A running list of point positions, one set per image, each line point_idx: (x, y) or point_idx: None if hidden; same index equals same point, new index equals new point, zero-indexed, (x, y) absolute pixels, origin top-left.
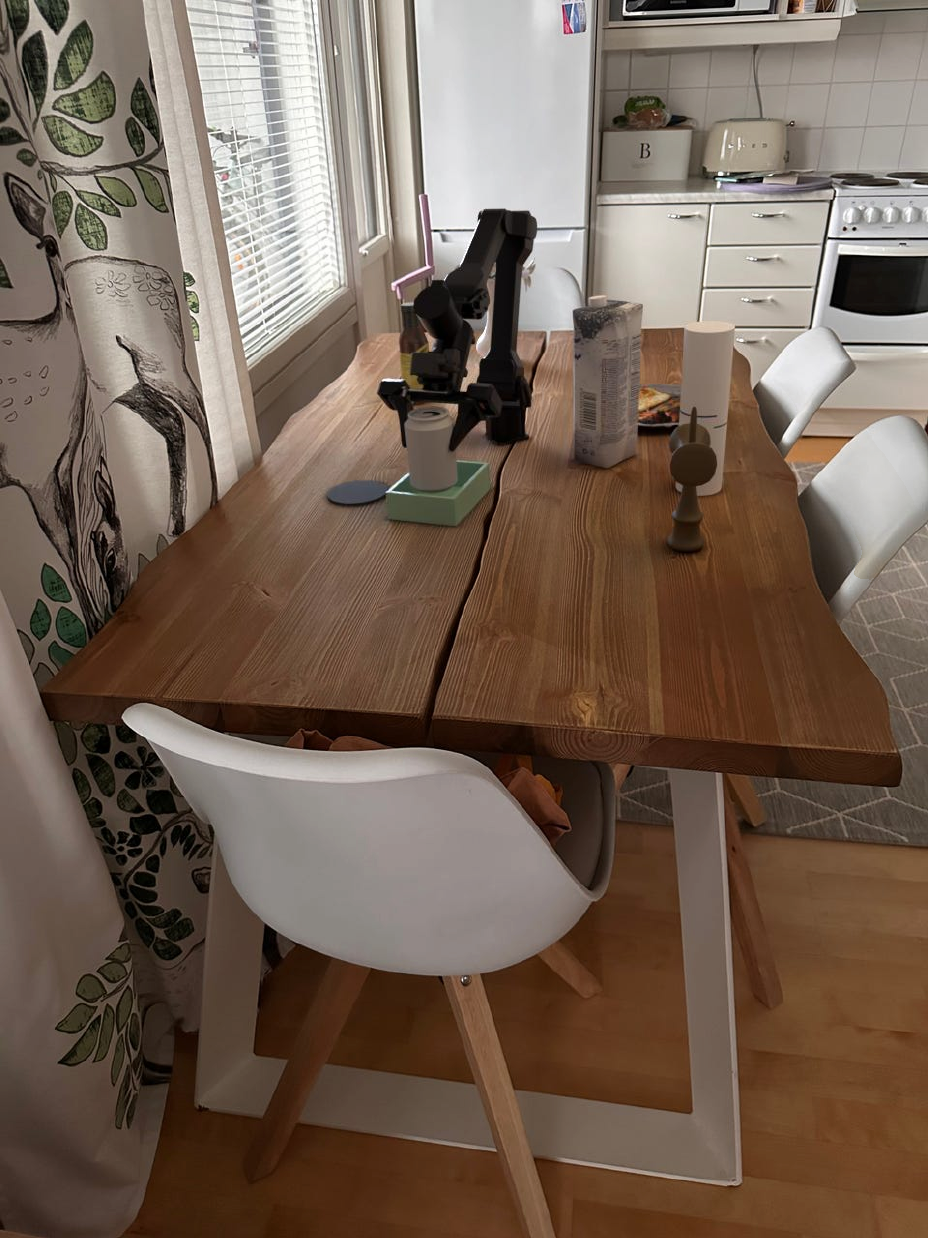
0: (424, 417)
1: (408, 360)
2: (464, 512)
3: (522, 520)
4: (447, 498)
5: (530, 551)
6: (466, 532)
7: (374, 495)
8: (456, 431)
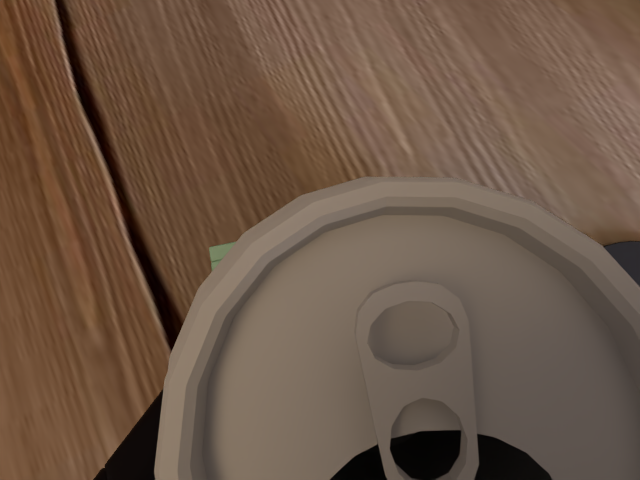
0: (426, 350)
1: None
2: None
3: (85, 376)
4: (232, 242)
5: (4, 221)
6: (193, 244)
7: None
8: (148, 428)
